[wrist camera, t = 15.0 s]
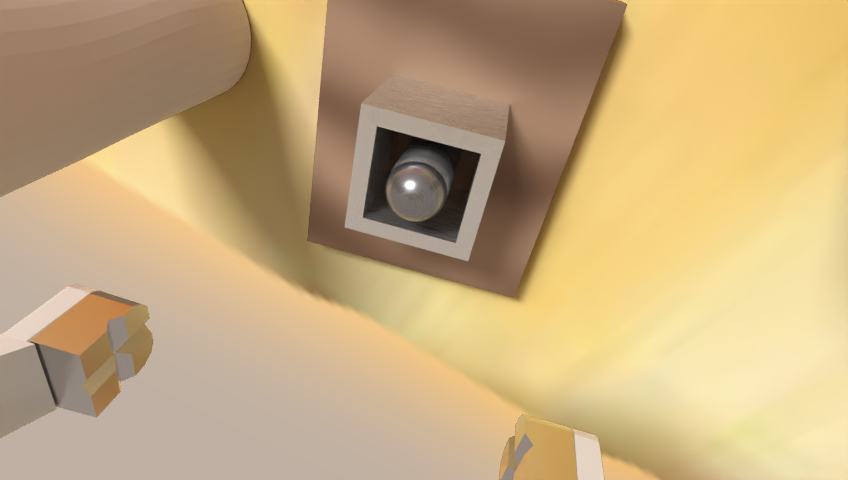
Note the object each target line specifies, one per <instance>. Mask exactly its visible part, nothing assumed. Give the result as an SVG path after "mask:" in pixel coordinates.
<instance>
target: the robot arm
mask: <svg viewBox="0 0 848 480" xmlns="http://www.w3.org/2000/svg"><path fill="white" fill-rule="evenodd" d="M148 319H149V313H148V308H147V306H145V305H142V304H139V303H136V302H133V301H129V300H126V299H123V298H120V297H117V296H114V295H111V294H108V293H105V292H102V291H98V290H95V289H91V288H88V287H85V286H82V285H78V284H76V285H72V286H68V287H66V288H65V289H64V290H62V291H61V292H59V293H58V294H57V295H56V296H54V297H53V298H51V299H50V300H49V301H47V302H46V303H44V304H43V305H42V306H40V307H39V308H38V309H36V310H35V311H34V312H32V313H31V314H30V315H28V316H27V317H25V318H24V319H23V320H21V321H20V322H19V323H17V324H16V325H14V326H13V327H12V328H10V329H9V330H8V331H6V332H5V333H4V334H1V333H0V438H2V437H3V436H5V435H7V434H9V433H11V432H13V431H15V430H17V429H19V428H21V427H23V426H25V425H27V424H28V423H31V422H33V421H34V420H36V419H38V418H40V417H42V416H44V415H46V414H48V413H50V412H52V411H54V410H56V407H60V408H64V409H67V410H71V411H75V412H78V413H82V414H86V415H89V416H93V417H97V416H98V415H99V414H100V413H101V412H102V411H103V410H104V409H105V408H106V407H107V406H108V405H109V404H110V402H111V401H112V400H113V399H114V398H115V397H116V396H117V395H118V394H119V393H120V388H121V381H123V380H126V379H128V378H130V377H133V376H135V375H136V374H137V373H138V372H139V371H140V370H141V368H142V367H143V366H144V365H145V363H146V361H147V359H148V357H149V355H150V353H151V351H152V344H153V339H152V333H151V332H150V330H149V329H148V328H147V327H146V326H145V324H144V323H145V322H146V321H147V320H148ZM499 480H604V473H603V466H602V459H601V452H600V445H599V440H598V438H597V436H596V435H593V434H590V433H587V432H583V431H580V430H576V429H573V428H569V427H567V426H564V425H560V424H556V423H553V422H549V421H545V420H542V419H538V418H535V417H531V416H527V415H523V414H522V415H521V416H520V417H519V419H518V421H517V423H516V427H515V436H513V437H511V438H509V440H508V442H507V444H506V447H505V449H504V453H503V456H502V460H501V466H500V474H499Z"/></svg>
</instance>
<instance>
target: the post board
mask: <svg viewBox="0 0 848 480" xmlns="http://www.w3.org/2000/svg"><path fill="white" fill-rule="evenodd" d="M626 7H627V4H626V3H624V2H622V1H619V0H328V2H327V14H326V26H325V38H324V50H323V62H322V73H321V85H320V97H319V109H318V121H317V133H316V145H315V157H314V169H313V180H312V192H311V204H310V216H309V228H308V240H307V241H310V242H314V243H317V244H321V245H325V246H328V247H332V248H336V249H339V250H343V251H347V252H350V253H354V254H357V255H361V256H365V257H368V258H372V259H376V260H379V261H383V262H386V263H390V264H394V265H397V266H401V267H405V268H408V269H412V270H416V271H419V272H423V273H426V274H430V275H434V276H437V277H441V278H445V279H448V280H452V281H456V282H459V283H463V284H466V285H470V286H474V287H477V288H481V289H485V290H488V291H492V292H496V293H499V294H503V295H506V296H510V297H514V296H515V293H516V291H517V288H518V286H519V283H520V281H521V278H522V275H523V273H524V270H525V268H526V265H527V262H528V260H529V257H530V255H531V252H532V250H533V247H534V244H535V242H536V239H537V237H538V234H539V231H540V229H541V226H542V224H543V221H544V219H545V216H546V213H547V211H548V208H549V206H550V203H551V200H552V198H553V195H554V193H555V190H556V187H557V185H558V182H559V180H560V177H561V175H562V172H563V169H564V167H565V164H566V162H567V159H568V156H569V154H570V151H571V149H572V146H573V144H574V141H575V138H576V136H577V133H578V131H579V128H580V125H581V123H582V120H583V118H584V115H585V113H586V110H587V107H588V105H589V102H590V100H591V97H592V94H593V92H594V89H595V87H596V84H597V82H598V79H599V76H600V74H601V71H602V69H603V66H604V63H605V61H606V58H607V56H608V53H609V50H610V48H611V45H612V43H613V40H614V38H615V35H616V32H617V30H618V27H619V25H620V22H621V19H622V17H623V14H624V12H625V9H626ZM393 74H396V75H400V76H404V77H408V78H411V79H415V80H419V81H423V82H427V83H431V84H435V85H439V86H443V87H446V88H450V89H454V90H458V91H462V92H466V93H470V94H474V95H477V96H481V97H485V98H489V99H493V100H497V101H501V102H505V103H508V104H510V106H509V114H508V123H507V131H506V140H505V144H504V147H503V150H502V153H501V157H500V160H499V163H498V166H497V170H496V173H495V176H494V179H493V182H492V186H491V189H490V192H489V195H488V199H487V202H486V205H485V208H484V212H483V215H482V218H481V221H480V225H479V228H478V231H477V234H476V238H475V241H474V244H473V247H472V250H471V254H470V257H469V260H468V261H465V260H461V259H458V258H454V257H450V256H447V255H443V254H440V253H436V252H432V251H429V250H425V249H421V248H418V247H414V246H410V245H407V244H403V243H400V242H396V241H392V240H389V239H385V238H381V237H378V236H374V235H370V234H367V233H363V232H360V231H356V230H352V229H349V228H345V221H346V213H347V206H348V198H349V191H350V183H351V176H352V168H353V161H354V153H355V146H356V139H357V131H358V124H359V116H360V109H361V103H362V102H363V101H364V100H365V99H366V98H367V97H369V96H370V95H371V94H372V93H373V92H374V91H375V90H376V89H377V88H378V87H379V86H381V85H382V84H383V83H384V82H385V81H386V80H387V79H388V78H389V77H390V76H391V75H393ZM412 137H413V136H412V135H408V134H404V133H400V132H398V137H397V142H396V148H395V153H394V159H393V164H392V170H393V168H394V167H395V165H396V163H397V162H398V160H399V158H400V157H401V155H402V154H403V152H404V150H405V149H406V147H407V145H408V144H409V142H410V141H411V139H412ZM478 156H479V153H476V152H473V151H469V150H465V149H462V153H461V156H460V159H459V162H458V165H457V168H456V171H455V174H454V177H453V180H452V184H451V188H455V189H459V190H462V191H466V192H469V188H470V185H471V181H472V178H473V174H474V171H475V167H476V163H477V160H478ZM392 170H391V171H392Z"/></svg>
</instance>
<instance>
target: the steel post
mask: <svg viewBox="0 0 848 480" xmlns="http://www.w3.org/2000/svg"><path fill="white" fill-rule="evenodd" d="M461 153H462V149H461V148H457V147H454V146H450V145H446V144H442V143H438V142H435V141H431V140H427V139H423V138H419V137H416V136H413V137H412V139H411V141H410V142H409V144H408V145H407V147H406V149H405V150H404V152H403V154H402V155H401V157H400V158H399V160H398V162H397V163H396V165H395V167H394V168H393V170H392V171H391V173H390V175H389V177H388V179H387V182H386V188H385V194H386V199H387V202H388V204H389V206H390V208H391V209H392V210H393V212H394V213H395V214H397V215H398V216H399V217H401V218H403V219H405V220H408V221H413V222H420V221H425V220H428V219H430V218H432V217H434V216H435V215H436V214H438V212H439V211H440V210H441V209H442V208H443V206H444V204H445V202H446V199H447V196H448V193H449V190H450V187H451V184H452V180H453V177H454V174H455V171H456V168H457V165H458V162H459V159H460V156H461Z"/></svg>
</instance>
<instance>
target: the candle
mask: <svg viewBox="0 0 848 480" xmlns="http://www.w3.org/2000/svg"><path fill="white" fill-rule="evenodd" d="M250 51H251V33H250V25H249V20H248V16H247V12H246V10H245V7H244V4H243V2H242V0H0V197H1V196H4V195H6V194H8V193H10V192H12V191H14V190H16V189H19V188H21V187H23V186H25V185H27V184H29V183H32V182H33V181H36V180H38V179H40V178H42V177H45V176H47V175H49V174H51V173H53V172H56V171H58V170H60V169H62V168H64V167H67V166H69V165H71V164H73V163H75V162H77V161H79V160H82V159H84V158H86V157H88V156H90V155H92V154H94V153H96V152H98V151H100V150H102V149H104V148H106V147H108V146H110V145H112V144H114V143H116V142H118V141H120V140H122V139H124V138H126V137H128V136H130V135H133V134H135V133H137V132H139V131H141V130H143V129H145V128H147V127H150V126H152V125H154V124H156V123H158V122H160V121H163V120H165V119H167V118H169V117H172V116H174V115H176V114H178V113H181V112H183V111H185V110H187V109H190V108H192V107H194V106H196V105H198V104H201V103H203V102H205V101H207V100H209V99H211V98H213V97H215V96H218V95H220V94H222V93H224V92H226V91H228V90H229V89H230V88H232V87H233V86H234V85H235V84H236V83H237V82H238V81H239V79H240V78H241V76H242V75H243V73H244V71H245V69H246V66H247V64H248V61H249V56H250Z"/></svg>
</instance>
